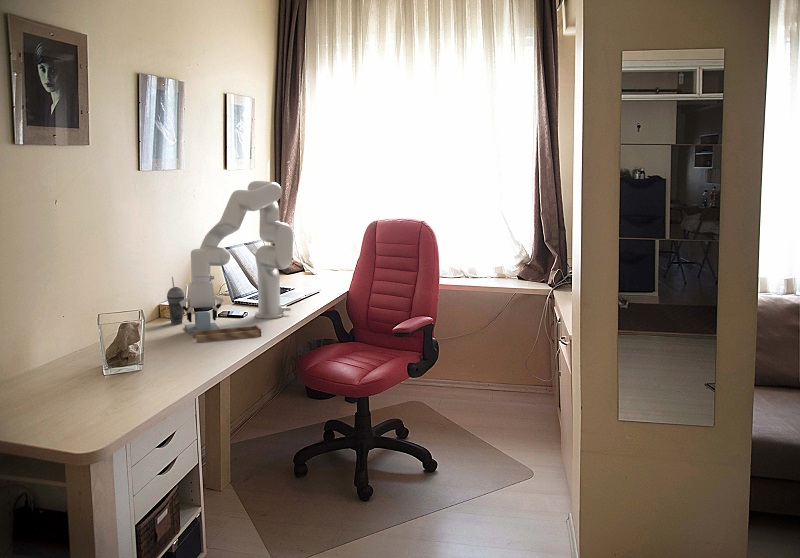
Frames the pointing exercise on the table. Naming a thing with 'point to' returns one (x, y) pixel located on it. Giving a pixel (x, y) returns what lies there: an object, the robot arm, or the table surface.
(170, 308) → the beverage cup
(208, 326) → the block
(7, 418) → the table surface
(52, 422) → the table surface
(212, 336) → the channel
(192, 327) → the pad
